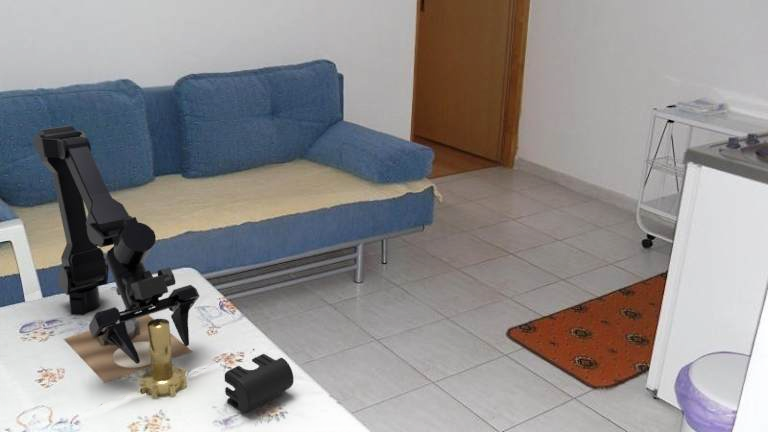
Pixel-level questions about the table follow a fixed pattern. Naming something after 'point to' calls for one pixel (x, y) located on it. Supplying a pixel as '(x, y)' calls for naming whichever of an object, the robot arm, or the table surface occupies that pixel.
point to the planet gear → (161, 364)
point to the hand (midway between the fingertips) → (163, 354)
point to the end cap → (258, 382)
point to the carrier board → (119, 353)
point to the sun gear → (132, 331)
